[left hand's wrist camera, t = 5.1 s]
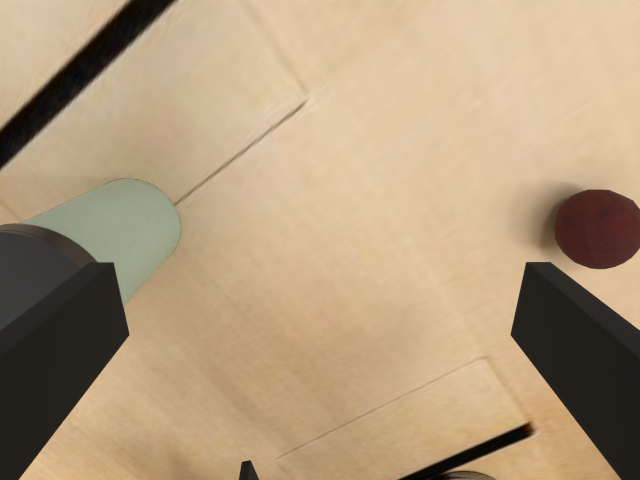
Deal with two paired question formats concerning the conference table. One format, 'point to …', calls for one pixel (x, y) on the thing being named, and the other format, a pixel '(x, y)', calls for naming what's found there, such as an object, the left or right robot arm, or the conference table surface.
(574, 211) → the dark red ball
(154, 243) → the jar
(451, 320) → the conference table surface
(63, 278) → the lid
